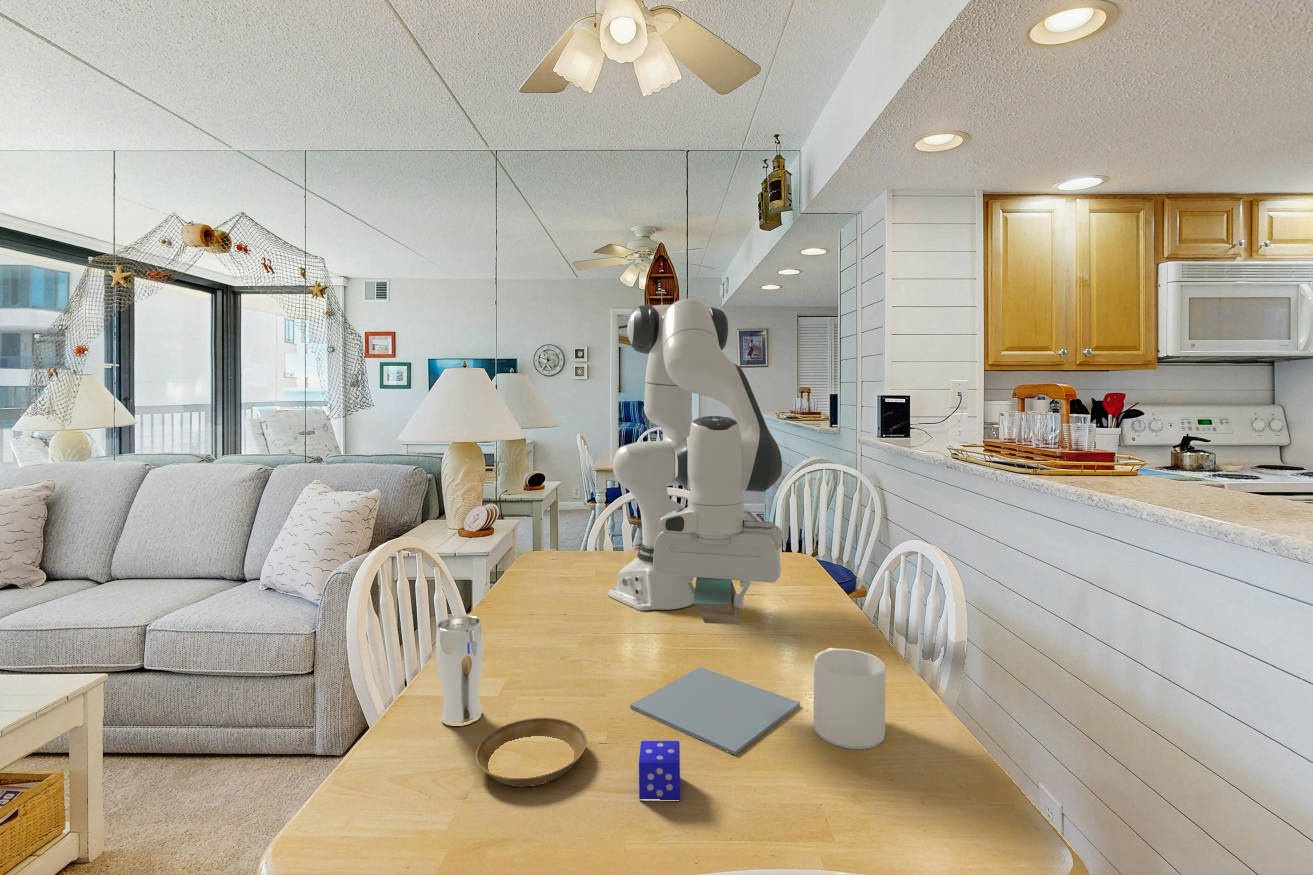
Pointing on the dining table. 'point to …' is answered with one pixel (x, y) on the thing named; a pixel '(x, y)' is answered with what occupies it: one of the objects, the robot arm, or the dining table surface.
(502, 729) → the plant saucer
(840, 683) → the mug
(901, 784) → the dining table surface
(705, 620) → the green and brown block
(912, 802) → the dining table surface
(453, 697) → the silver metal tumbler
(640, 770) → the die
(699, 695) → the slate mat
